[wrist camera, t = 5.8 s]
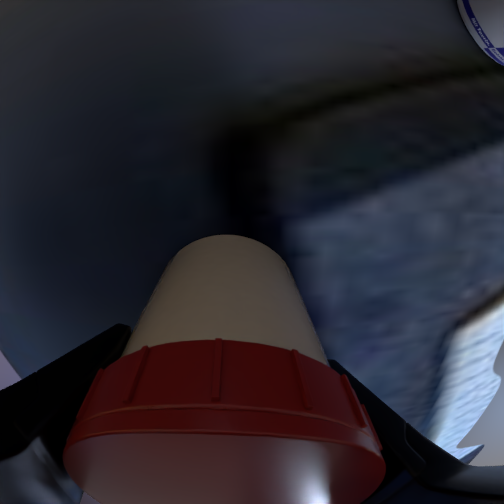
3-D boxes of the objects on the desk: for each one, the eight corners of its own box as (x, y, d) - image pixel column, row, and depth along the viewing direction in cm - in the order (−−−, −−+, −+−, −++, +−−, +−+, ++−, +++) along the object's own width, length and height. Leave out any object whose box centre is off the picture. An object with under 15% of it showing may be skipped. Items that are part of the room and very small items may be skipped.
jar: (275, 362, 13) (303, 518, 6) (154, 341, 13) (106, 497, 5) (313, 251, 12) (417, 408, 4) (167, 220, 11) (57, 365, 3)
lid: (409, 353, 5) (453, 418, 3) (303, 490, 7) (311, 535, 5) (73, 298, 4) (14, 367, 2) (106, 466, 6) (93, 512, 5)
